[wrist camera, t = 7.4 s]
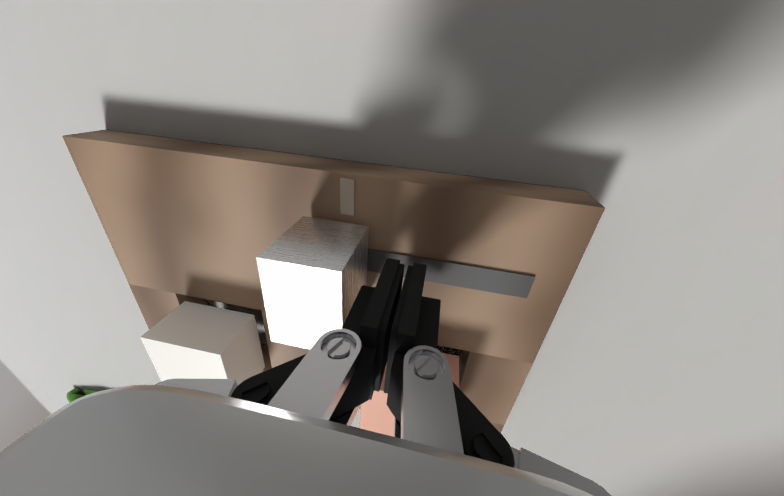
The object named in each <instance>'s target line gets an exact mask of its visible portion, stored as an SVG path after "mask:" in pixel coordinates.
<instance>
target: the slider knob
mask: <svg viewBox="0 0 784 496" xmlns="http://www.w3.org/2000/svg"><path fill="white" fill-rule="evenodd" d="M368 236H369V226H364V225H358V224H351V223H345V222H338V221H332V220H325V219H319V218H312V217H306V216H302V217H301V218H300V219H299V220H298V221H297V222H296V223H295V224H293V225H292V226H291V227H290V228H289V229H288V230H287V231H285V232H284V233H283V234H282V235H281V236H280V237H279V238H278V239H276V240H275V241H274V242H273V243H272V244H271V245H270V246H269V247H267V248H266V249H265V250H264V251H263V252H262V253H261V254H259V255H258V256H257V257H256V259H257V265H258V270H259V276H260V282H261V287H262V293H263V299H264V304H265V310H266V316H267V321H268V327H269V333H270V338H271V341H273V342H278V343H282V344H287V345H292V346H297V347H301V348H306V349H311V348H312V346H313V345H314V344H315V342H316V341H317V340H318V338H319V337H320V336H321V335H322V334H324V333H325V332H327V331H329V330H333V329H340V328H342V327H343V325H344V322H345V320H346V318H347V316H348V314H349V312H350V310H351V307H352V305H353V303H354V301H355V299H356V297H357V295H358V293H359V290H360V288H361V287H362V285H365V286H366V282H367V259H368Z"/></svg>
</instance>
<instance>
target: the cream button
mask: <svg viewBox="0 0 784 496" xmlns="http://www.w3.org/2000/svg"><path fill="white" fill-rule="evenodd" d="M140 338H141V340H142V342H143V344H144V346H145V348H146V350H147V352H148V354H149V356H150V358H151V361H152V363H153V365H154V367H155V369H156V371H157V373H158V375H159V377H160V379H161V381H165V380H168V379H175V378H176V379H236V382H238V383H242V382H243V381H244V380H246V379H248V378H250V377H252V376H254V375H257V374H259V373H261V372H262V371H263V369H264V368H265V364H264V359H263V355H262V350H261V345H260V340H259V335H258V330H257V325H256V320H255V315H252V314H247V313H242V312H237V311H232V310H227V309H222V308H217V307H212V306H207V305H202V304H197V303H192V302H187V301H184V302H183V303H182V304H181V305H179V306H178V307H177V308H176V309H174V310H173V311H172V312H171V313H170V314H168V315H167V316H166V317H165V318H163V319H162V320H161V321H160V322H158V323H157V324H156V325H155V326H154V327H152V328H151V329H150V330H149V331H147V332H146V333H145V334H144V335H142V336H141V337H140Z"/></svg>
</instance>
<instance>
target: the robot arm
mask: <svg viewBox="0 0 784 496" xmlns="http://www.w3.org/2000/svg"><path fill="white" fill-rule="evenodd" d="M404 266H405V264H400V260H397V259H391V258H387V259H386V261H385V264H384V266H383V269H382V271H381V274H380V276H379V279H378V281H377V284H376V286H375V287H371V286H365V285H362V287H361V288H360V290H359V293H358V295H357V297H356V299H355V301H354V303H353V305H352V307H351V310H350V312H349V314H348V316H347V318H346V320H345V322H344V325H343V327H342V328H340V329H333V330H329V331H327V332H325V333H324V334H322V335H321V336H320V337H319V338H318V340H317V341H316V342H315V344H314V345H313V346H312V348H311V349H310V350H309V351H308V353H307V354H305V355H302V356H300V357H298V358H295V359H293V360H290V361H288V362H286V363H283V364H281V365H278V366H276V367H273V368H271V369H269V370H266V371H264V372H261V373H259V374H257V375H254V376H252V377H250V378H248V379H246V380H244V381H243V382H242V383H238V382H236V379H176V378H175V379H168V380H165V381H162V382H160V383H157V384H155V385H133V386H126V387H118V388H112V389H107V390H103V391H99V392H95V393H92V394H88V395H86V396H83V397H81V398H79V399H76V400H75V401H73V402H71V403H69V404H67V405H65V406H64V407H62V408H61V409H59V410H57V411H56V412H54V413H53V414H51V415H50V416H49V417H47V418H45V419H44V420H43V421H41V422H40V423H38V424H37V425H36V426H34V427H33V428H32V429H30V430H29V431H28V432H26V433H25V434H24V435H22V436H21V437H20V438H18V439H17V440H16V441H14V442H13V443H12V444H10V445H9V446H8V447H7V448H5V449H4V450H3V451H1V452H0V496H611V495H610V494H609V493H608V492H607V491H606V490H605V489H604V488H603V487H601V486H600V485H598V484H597V483H595V482H594V481H592V480H590V479H588V478H585V477H583V476H581V475H579V474H577V473H575V472H573V471H571V470H568V469H566V468H564V467H562V466H560V465H558V464H556V463H553V462H551V461H549V460H547V459H545V458H543V457H541V456H539V455H536V454H534V453H532V452H530V451H528V450H526V449H524V448H522V447H521V448H520V450H517V449H515V448H513V447H511V446H510V445H509V443H508V442H507V441H506V439H505V438H504V437H503V435H502V434H501V433H500V432H499V431H498V430H497V429H496V428H495V427H494V426H493V425H492V424H491V422H490V421H489V420H488V419H487V418H486V417H485V416H484V415H483V414H482V413H481V412H480V410H479V409H478V408H477V407H476V406H475V405H474V404H473V403H472V402H471V401H470V400H469V398H468V397H467V396H466V395H465V394H464V393H463V392H462V391H461V390H460V389H459V388H458V387H457V385H456V384H455V383H454V382H453V381H452V375H451V369H450V364H449V361H448V359H447V358H446V356H445V355H444V354H443V353H442V352H440V351H439V350H437V347H438V333H439V319H440V306H441V300H440V299H434V298H429V297H424V296H422V293H423V287H424V281H425V274H426V268H427V265H426V264H420V263H414V265H413V266H411V265H408V268H407V272H406V275H405V279H404V283H403V287H402V282H403V274H404ZM386 363H387V367H386ZM385 367H386V375H385V384H384V393H387V394H388V396H387V404H386V405H387V406H388V408H389V409H390V411H391V412H392V414H393V415H394V417H395V419H394V437H393V436H389V435H385V434H381V433H376V432H372V431H368V430H364V429H360V428H356V427H352V426H351V424H352V422H353V420H354V417H355V415H356V413H357V410H358V406H359V405H361V404H363V403H364V402H366V401H368V400H372V396H373V392H374V391H378V392H379V391H380V387H381V383H382V379H383V375H384V371H385Z"/></svg>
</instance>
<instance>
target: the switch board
mask: <svg viewBox="0 0 784 496" xmlns="http://www.w3.org/2000/svg"><path fill="white" fill-rule="evenodd" d="M63 139H64V141H65V143H66V145H67V147H68V150H69V152H70V154H71V156H72V159H73V161H74V163H75V165H76V167H77V170H78V172H79V174H80V176H81V179H82V181H83V183H84V185H85V188H86V190H87V192H88V194H89V196H90V199H91V201H92V203H93V205H94V208H95V210H96V212H97V214H98V216H99V219H100V221H101V223H102V225H103V228H104V230H105V232H106V234H107V236H108V239H109V241H110V243H111V245H112V248H113V250H114V252H115V254H116V256H117V259H118V261H119V263H120V265H121V268H122V270H123V272H124V274H125V276H126V279H127V281H128V283H129V285H130V288H131V290H132V292H133V294H134V296H135V299H136V301H137V303H138V305H139V308H140V310H141V312H142V314H143V316H144V319H145V321H146V323H147V325H148V328H149V330H150V329H151V328H152V327H154V326H155V325H156V324H157V323H158V322H160V321H161V320H162V319H163V318H165V317H166V316H167V315H168V314H170V313H171V312H172V311H173V310H174V309H176V308H177V307H178V306H179V305H181V304H182V303H183V302H184V301H187V302H192V303H197V304H202V305H207V306H209V305H208V302H207V300H212V301H217V302H222V303H227V304H233V305H238V306H243V307H248V308H253V309H258V310H261V312H262V317H263V323H264V328H265V334H266V339H267V344H268V346H265V345H261V350H262V355H263V359H264V364H265V368H264V369H263V371H262V372H264V371H266V370H269V369H271V368H273V367H276V366H278V365H281V364H283V363H286V362H288V361H290V360H293V359H295V358H298V357H300V356H302V355H305V354H307V353H308V351H309V350H310V349H306V348H301V347H297V346H292V345H287V344H282V343H278V342H273V341H271V338H270V333H269V327H268V321H267V316H266V310H265V304H264V299H263V293H262V287H261V282H260V276H259V270H258V265H257V259H256V257H257V256H258V255H259V254H261V253H262V252H263V251H264V250H265V249H266V248H267V247H269V246H270V245H271V244H272V243H273V242H274V241H275V240H276V239H278V238H279V237H280V236H281V235H282V234H283V233H284V232H285V231H287V230H288V229H289V228H290V227H291V226H292V225H293V224H295V223H296V222H297V221H298V220H299V219H300V218H301V217H302V216H306V217H312V218H319V219H325V220H332V221H338V222H345V223H351V224H358V225H364V226H369V236H368V259H367V282H366V286H371V287H375V286H376V284H377V281H378V279H379V276H380V274H381V271H382V269H383V266H384V264H385V261H386V259H387V258H391V259H397V260H400V264H405V266H404V274H403V282H402V287H403V283H404V279H405V275H406V272H407V268H408V265H411V266H413V265H414V263H420V264H426V265H427V268H426V274H425V281H424V287H423V293H422V296H424V297H429V298H434V299H440V300H441V306H440V319H439V333H438V345H440V346H445V347H450V348H455V349H460V350H462V352H461V355H460V359H459V389H460V390H461V391H462V392H463V393H464V394H465V395H466V396H467V397H468V398H469V400H470V401H471V402H472V403H473V404H474V405H475V406H476V407H477V408H478V409H479V410H480V412H481V413H482V414H483V415H484V416H485V417H486V418H487V419H488V420H489V421H490V422H491V424H492V425H493V426H494V427H495V428H496V429H497V430H498V431H499V432H500V433H501V431H502V429H503V427H504V424H505V422H506V420H507V418H508V416H509V414H510V411H511V409H512V407H513V405H514V403H515V401H516V399H517V396H518V394H519V392H520V390H521V388H522V386H523V383H524V381H525V379H526V377H527V375H528V373H529V371H530V368H531V366H532V364H533V362H534V360H535V358H536V355H537V353H538V351H539V349H540V347H541V345H542V343H543V340H544V338H545V336H546V334H547V332H548V330H549V327H550V325H551V323H552V321H553V319H554V317H555V315H556V312H557V310H558V308H559V306H560V304H561V302H562V299H563V297H564V295H565V293H566V291H567V289H568V287H569V284H570V282H571V280H572V278H573V276H574V274H575V271H576V269H577V267H578V265H579V263H580V261H581V259H582V256H583V254H584V252H585V250H586V248H587V246H588V243H589V241H590V239H591V237H592V235H593V233H594V231H595V228H596V226H597V224H598V222H599V220H600V218H601V215H602V213H603V211H604V209H605V208H604V207H603V206H602V205H601V204H600V203H599V202H597V201H596V200H595V199H594V198H593V197H592V196H590V195H589V194H588V193H587V192H586V191H581V190H573V189H566V188H558V187H550V186H542V185H534V184H526V183H518V182H511V181H503V180H495V179H487V178H479V177H471V176H463V175H456V174H448V173H440V172H432V171H424V170H416V169H408V168H401V167H393V166H385V165H377V164H369V163H361V162H353V161H346V160H338V159H330V158H322V157H314V156H306V155H298V154H291V153H283V152H275V151H267V150H259V149H251V148H243V147H236V146H228V145H220V144H212V143H204V142H196V141H189V140H181V139H173V138H165V137H157V136H149V135H141V134H134V133H126V132H118V131H110V130H100V131H93V132H86V133H79V134H72V135H65V136H63ZM358 408H360V409H361V405H359V406H358Z"/></svg>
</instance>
